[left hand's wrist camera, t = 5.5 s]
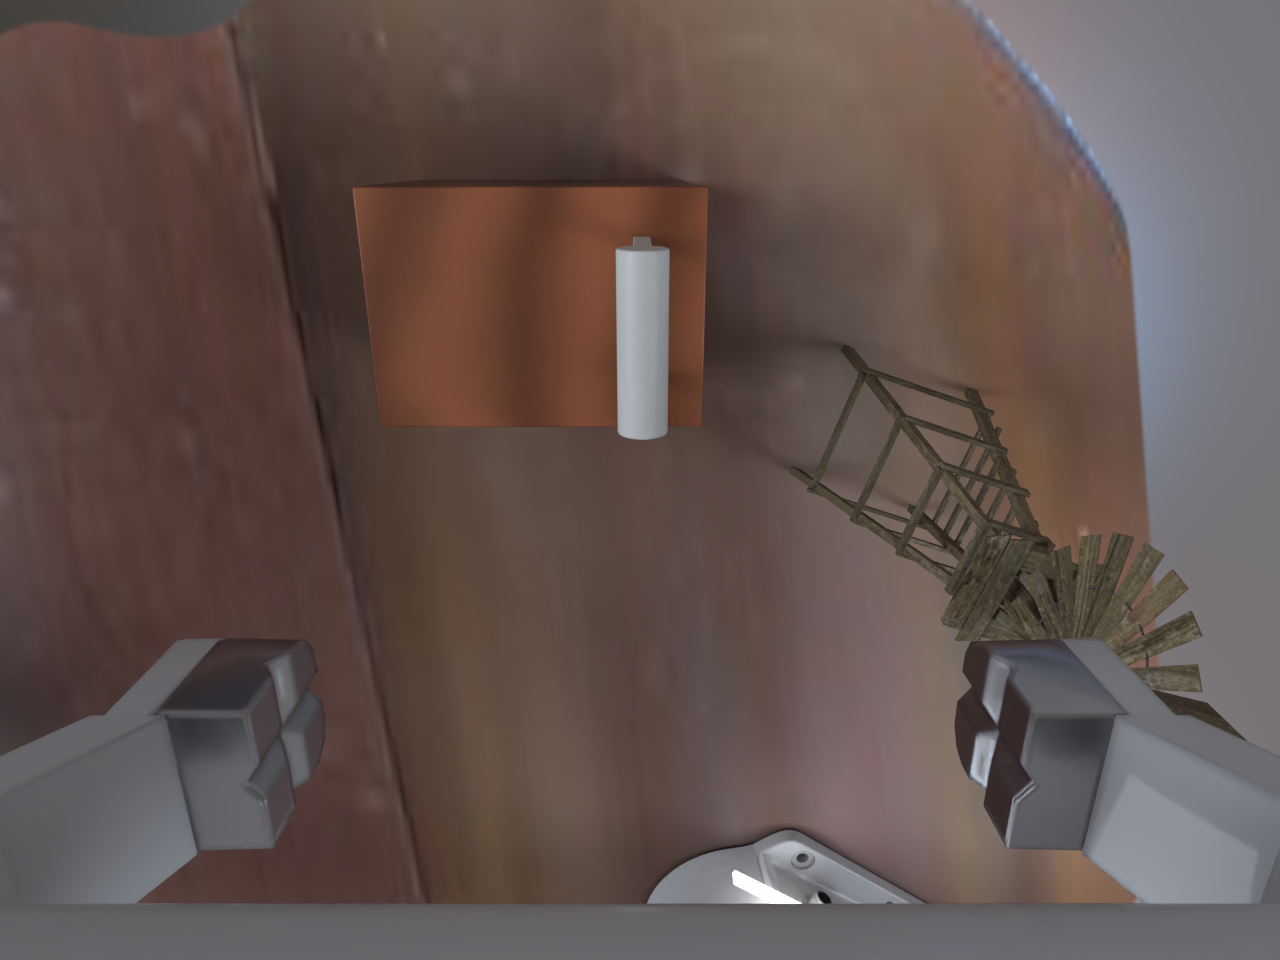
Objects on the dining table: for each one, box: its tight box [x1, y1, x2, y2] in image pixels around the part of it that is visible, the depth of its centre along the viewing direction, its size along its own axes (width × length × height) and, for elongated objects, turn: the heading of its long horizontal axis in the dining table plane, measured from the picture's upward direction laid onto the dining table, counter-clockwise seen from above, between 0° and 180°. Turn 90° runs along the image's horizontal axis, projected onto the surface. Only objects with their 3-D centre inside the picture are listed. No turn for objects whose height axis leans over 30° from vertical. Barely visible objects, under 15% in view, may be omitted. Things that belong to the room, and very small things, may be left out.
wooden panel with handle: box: [352, 186, 708, 440], centre depth 33 cm, size 14×10×9 cm
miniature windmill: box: [790, 345, 1246, 741], centre depth 35 cm, size 9×8×30 cm
